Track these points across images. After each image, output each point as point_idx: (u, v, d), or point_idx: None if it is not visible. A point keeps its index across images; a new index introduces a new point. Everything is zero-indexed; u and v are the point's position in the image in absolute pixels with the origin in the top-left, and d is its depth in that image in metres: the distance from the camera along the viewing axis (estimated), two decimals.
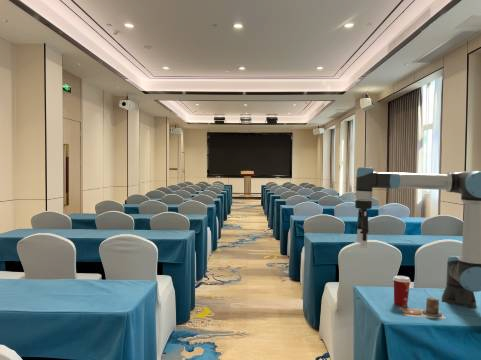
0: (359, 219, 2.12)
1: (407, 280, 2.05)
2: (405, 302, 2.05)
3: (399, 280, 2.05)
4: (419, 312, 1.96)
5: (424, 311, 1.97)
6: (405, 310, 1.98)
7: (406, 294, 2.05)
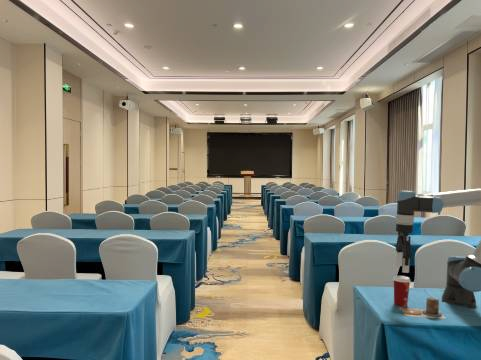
0: (399, 242, 2.11)
1: (407, 280, 2.05)
2: (405, 302, 2.05)
3: (399, 280, 2.05)
4: (419, 312, 1.96)
5: (424, 311, 1.97)
6: (405, 310, 1.98)
7: (406, 294, 2.05)
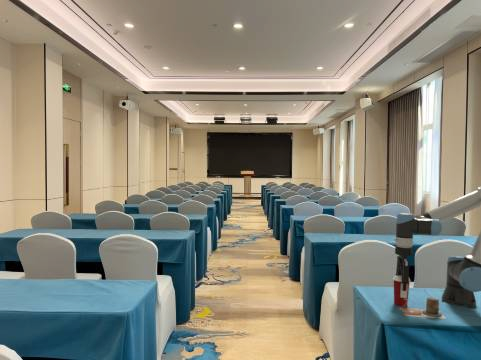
0: (399, 266, 2.10)
1: None
2: (405, 302, 2.05)
3: (399, 280, 2.05)
4: (419, 312, 1.96)
5: (424, 311, 1.97)
6: (405, 310, 1.98)
7: None
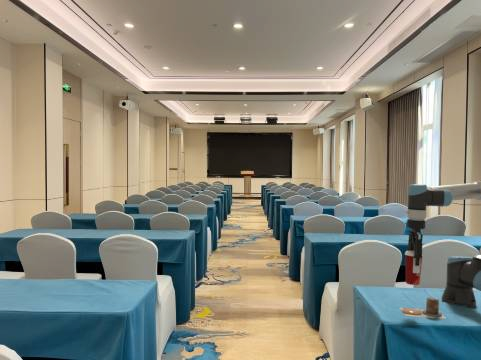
0: (411, 240, 1.98)
1: None
2: (418, 278, 1.94)
3: (411, 254, 1.94)
4: (419, 312, 1.96)
5: (424, 311, 1.97)
6: (405, 310, 1.98)
7: None
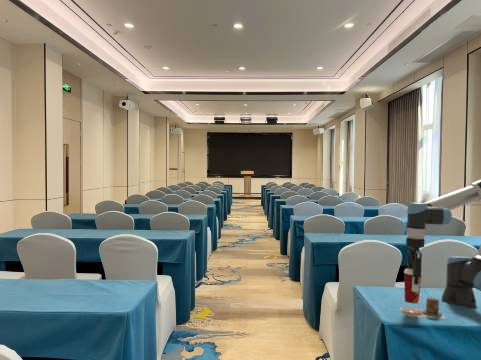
0: (410, 258, 1.99)
1: None
2: (416, 296, 1.94)
3: (410, 273, 1.94)
4: (419, 312, 1.96)
5: (424, 311, 1.97)
6: (405, 310, 1.98)
7: None
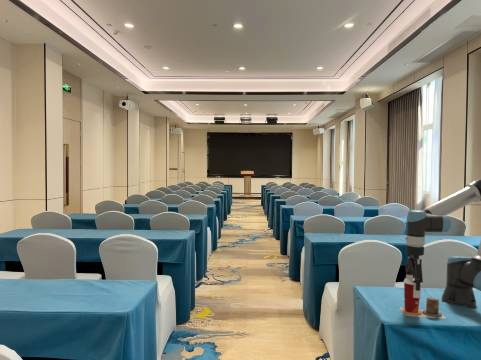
0: (409, 265, 2.00)
1: None
2: (416, 306, 1.94)
3: (410, 283, 1.94)
4: (419, 312, 1.96)
5: (424, 311, 1.97)
6: None
7: None
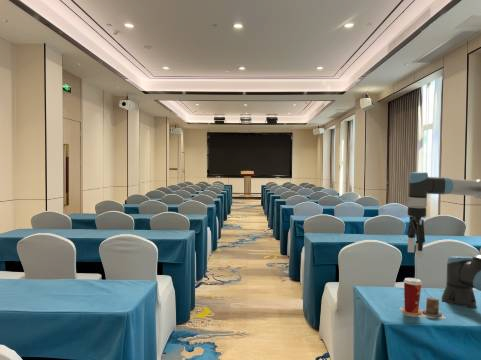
0: (411, 227, 1.99)
1: (418, 283, 1.94)
2: (416, 306, 1.94)
3: (410, 283, 1.94)
4: (419, 312, 1.96)
5: (424, 311, 1.97)
6: None
7: (417, 297, 1.94)
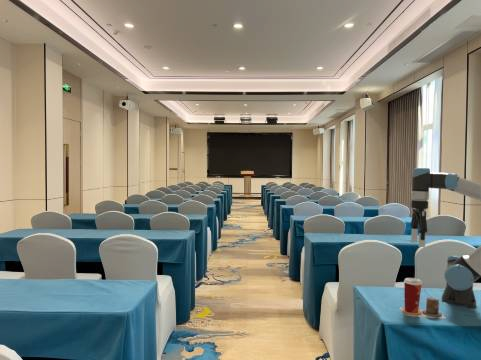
0: (414, 219, 2.16)
1: (419, 283, 1.94)
2: (416, 306, 1.94)
3: (410, 283, 1.94)
4: (419, 312, 1.96)
5: (424, 311, 1.97)
6: None
7: (417, 297, 1.94)
